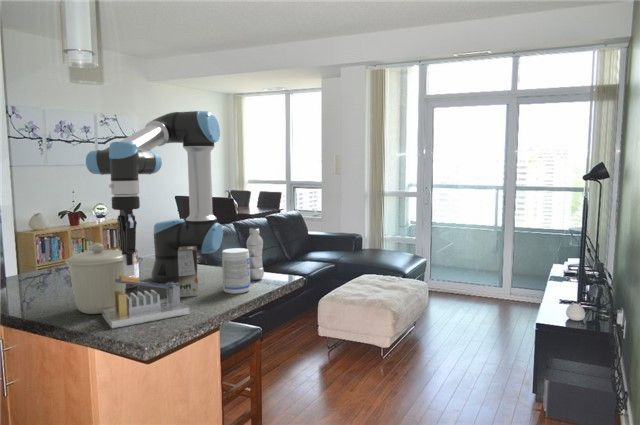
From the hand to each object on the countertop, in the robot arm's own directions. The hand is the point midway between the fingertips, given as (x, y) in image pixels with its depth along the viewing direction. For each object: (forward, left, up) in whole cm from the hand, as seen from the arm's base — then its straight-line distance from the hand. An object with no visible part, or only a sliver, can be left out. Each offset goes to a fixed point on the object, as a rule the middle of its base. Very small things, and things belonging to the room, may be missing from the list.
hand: (129, 275), depth 144 cm
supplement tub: (-9, +38, -13) cm, 41 cm away
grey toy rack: (0, +4, -13) cm, 13 cm away
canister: (-14, -6, -13) cm, 20 cm away
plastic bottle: (-20, +51, -13) cm, 57 cm away
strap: (0, +5, -4) cm, 6 cm away
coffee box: (-16, +23, -13) cm, 31 cm away
